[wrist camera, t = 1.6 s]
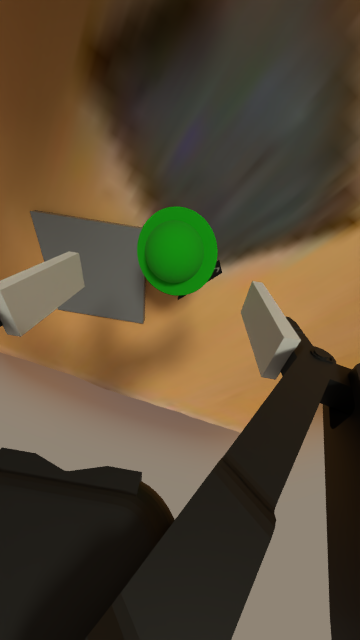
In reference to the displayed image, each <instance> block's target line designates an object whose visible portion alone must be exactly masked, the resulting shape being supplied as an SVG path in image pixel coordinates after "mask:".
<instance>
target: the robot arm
mask: <svg viewBox="0 0 360 640" xmlns="http://www.w3.org/2000/svg"><path fill="white" fill-rule="evenodd" d="M84 287H85V285H84V280H83V274H82V268H81V262H80V256H79V253H76V252H70V251H69V252H66V253H64V254H62V255H59V256H57V257H55V258H52V259H50V260H48V261H45V262H43V263H41V264H38V265H36V266H34V267H31V268H29V269H27V270H24V271H22V272H19V273H17V274H15V275H12V276H10V277H8V278H5V279H3V280H1V281H0V327H1V326H2V325H3V327H4V329H5V331H6V333H7V334H9V335H15V336H22V335H24V334H25V333H26V332H27V331H29V330H30V329H31V328H32V327H34V326H35V325H36V324H38V323H39V322H40V321H41V320H43V319H44V318H45V317H47V316H48V315H49V314H50V313H52V312H53V311H54V310H55V309H57V308H58V307H59V306H61V305H62V304H63V303H64V302H66V301H67V300H68V299H70V298H71V297H72V296H73V295H75V294H76V293H77V292H79V291H80V290H81V289H82V288H84ZM241 315H242V318H243V321H244V324H245V327H246V330H247V333H248V337H249V340H250V343H251V346H252V349H253V352H254V355H255V359H256V362H257V365H258V368H259V371H260V374H261V377H264V378H270V379H276V378H277V377H278V375H279V374H280V372H281V373H282V376H283V377H282V378H281V380H280V381H279V383H278V384H277V385H276V387H275V388H274V389H273V391H272V392H271V393H270V395H269V396H268V397H267V399H266V400H265V401H264V403H263V404H262V405H261V407H260V408H259V409H258V411H257V412H256V413H255V415H254V416H253V418H252V419H251V420H250V422H249V423H248V424H247V426H246V427H245V428H244V430H243V431H242V432H241V434H240V435H239V436H238V438H237V439H236V440H235V442H234V443H233V445H232V446H231V447H230V448H229V450H228V451H227V453H226V454H225V455H224V456H223V458H221V460H220V461H219V462H218V463H217V465H216V466H215V467H214V469H213V470H212V471H211V473H210V474H209V475H208V477H207V478H206V479H205V481H204V482H203V483H202V485H201V486H200V487H199V489H198V490H197V491H196V493H195V494H194V495H193V497H192V498H191V499H190V501H189V502H188V503H187V505H186V506H185V507H184V509H183V510H182V511H181V513H180V514H179V515H178V517H177V518H176V519H175V520H174V518H173V516H172V514H171V512H170V510H169V508H168V507H167V505H166V504H165V502H164V501H163V499H162V498H161V497H160V496H159V495H158V494H157V493H156V491H154V490H153V489H152V488H151V487H150V486H148V485H147V484H145V483H143V482H142V481H141V478H142V472H138V471H132V470H126V469H121V468H115V467H109V466H105V467H97V468H90V469H83V470H75V471H64V470H62V469H60V468H59V467H57V466H55V465H54V464H52V463H51V462H49V461H47V460H46V459H44V458H42V457H41V456H39V455H37V454H36V453H30V452H24V451H19V450H13V449H7V448H1V449H0V640H231V638H232V636H233V633H234V631H235V628H236V626H237V623H238V621H239V618H240V616H241V613H242V611H243V608H244V605H245V603H246V601H247V598H248V596H249V593H250V591H251V588H252V586H253V583H254V581H255V578H256V575H257V573H258V571H259V568H260V565H261V563H262V560H263V558H264V555H265V553H266V550H267V548H268V545H269V543H270V540H271V538H272V535H273V532H274V529H275V522H276V518H275V515H274V510H275V507H276V504H277V502H278V499H279V497H280V494H281V492H282V490H283V488H284V485H285V483H286V481H287V478H288V476H289V473H290V471H291V469H292V466H293V464H294V462H295V459H296V457H297V455H298V452H299V450H300V448H301V445H302V443H303V440H304V438H305V436H306V434H307V431H308V429H309V427H310V424H311V422H312V420H313V417H314V415H315V412H316V410H317V408H318V405H319V403H321V404H323V425H324V454H325V483H326V484H325V485H326V513H327V543H328V572H329V602H330V623H331V636H332V640H360V363H359V364H357V365H356V366H355V367H354V368H353V369H349V368H346V367H343V366H341V365H338V364H336V360H335V359H334V357H333V356H331V355H330V354H329V353H328V352H326V351H325V350H323V349H321V348H318V347H315V346H313V345H312V344H311V343H310V341H309V340H308V338H307V337H306V336H305V334H303V331H302V330H301V329H300V327H299V326H298V325H297V323H296V322H295V321H293V320H292V319H291V318H290V317H285V316H284V314H283V313H282V311H281V310H280V308H279V307H278V305H277V304H276V302H275V301H274V299H273V298H272V296H271V295H270V293H269V292H268V290H267V289H266V287H265V286H264V284H263V283H261V282H255V281H252V283H251V286H250V289H249V291H248V294H247V297H246V300H245V302H244V305H243V308H242V310H241Z"/></svg>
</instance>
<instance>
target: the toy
mask: <svg viewBox="0 0 360 640" xmlns="http://www.w3.org/2000/svg"><path fill="white" fill-rule="evenodd" d="M137 256H138V262H139V265H140V268H141V270H142V272H143V274H144V276H145V277H146V279H147V280H148V281H149V282H150V283H151V285H153V286H154V287H155V288H157V289H158V290H159V291H162V292H164V293H166V294H170V295H176V296H177V295H179V296H178V300H179V299H180V298H182V297H184V296H185V295H187V294H190V293H193V292H195V291H197V290H198V289H200V288H201V287H202V286H203V285H204V284H205V283H206V282H208V281H210V280H211V279H213V278H214V277H216V276H218V275H219V274H221V273H222V270H221V266H220V262H219V260H218V261H217V243H216V239H215V236H214V233H213V231H212V229H211V227H210V226H209V224H208V223H207V222H206V220H205V219H204V218H203V217H202V216H200V215H199V214H198V213H196V212H195V211H193V210H190V209H188V208H184V207H168V208H165V209H162V210H160V211H158V212H156V213H155V214H154V215H152V216H151V217H150V218H149V219H148V220H147V222H146V223H145V224H144V226H143V228H142V230H141V232H140V235H139V238H138V244H137Z"/></svg>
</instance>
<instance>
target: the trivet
mask: <svg viewBox="0 0 360 640" xmlns="http://www.w3.org/2000/svg"><path fill="white" fill-rule="evenodd" d="M30 213H31V217H32V220H33V224H34V227H35V231H36V234H37V237H38V241H39V244H40V248H41V251H42V255H43V258H44V262H45V261H48V260H50V259H52V258H55V257H57V256H59V255H62V254H64V253H66V252H69V251H70V252H76V253H79V256H80V262H81V268H82V274H83V280H84V285H85V287H84V288H82V289H81V290H80V291H79V292H77V293H76V294H75V295H73V296H72V297H71V298H70V299H68V300H67V301H66V302H64V303H63V304H62V305H61V306H59V307H58V310H64V311H70V312H76V313H82V314H88V315H94V316H100V317H107V318H113V319H119V320H125V321H131V322H137V323H144V321H145V283H146V277H145V276H144V274H143V272H142V270H141V268H140V265H139V262H138V256H137V244H138V238H139V235H140V232H141V230H142V227H136V226H130V225H123V224H117V223H111V222H105V221H98V220H92V219H86V218H80V217H73V216H67V215H61V214H55V213H48V212H42V211H36V210H35V211H30Z"/></svg>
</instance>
